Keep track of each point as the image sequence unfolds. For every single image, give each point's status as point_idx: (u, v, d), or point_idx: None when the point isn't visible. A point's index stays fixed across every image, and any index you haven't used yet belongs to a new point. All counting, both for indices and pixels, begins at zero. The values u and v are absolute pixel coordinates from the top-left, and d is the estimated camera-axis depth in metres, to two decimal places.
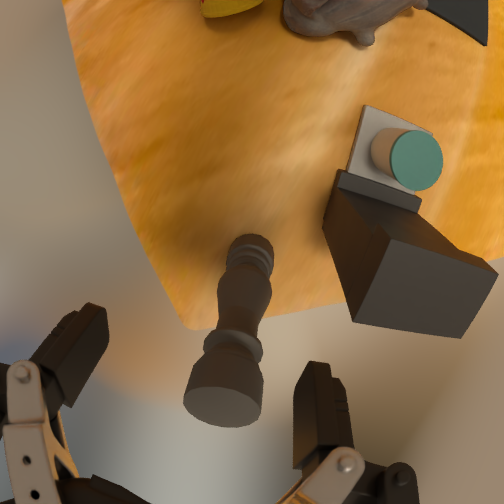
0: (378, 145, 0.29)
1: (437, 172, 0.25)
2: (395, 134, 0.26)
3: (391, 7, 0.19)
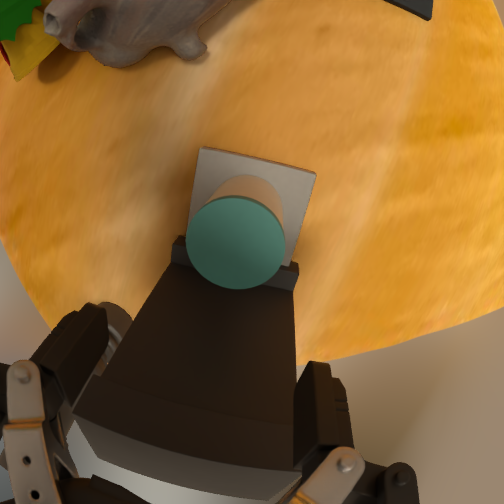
0: None
1: (275, 260, 0.19)
2: (208, 201, 0.20)
3: None
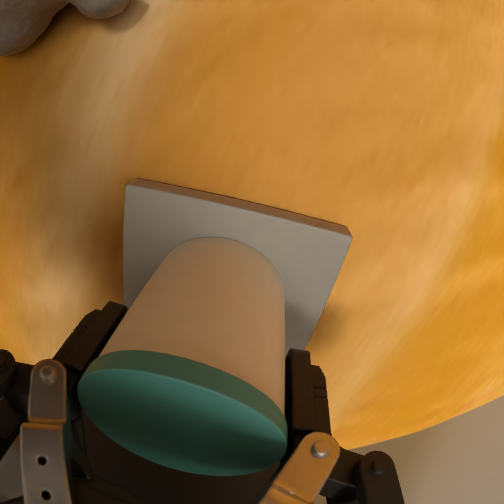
0: None
1: (263, 460, 0.07)
2: (118, 328, 0.08)
3: None
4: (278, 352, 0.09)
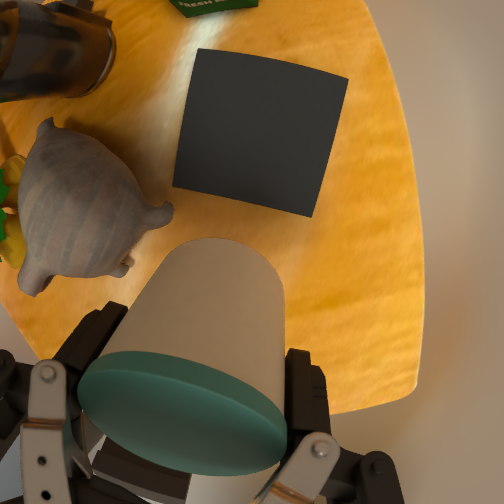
0: None
1: (263, 461, 0.07)
2: (118, 329, 0.08)
3: (100, 268, 0.25)
4: (278, 353, 0.09)
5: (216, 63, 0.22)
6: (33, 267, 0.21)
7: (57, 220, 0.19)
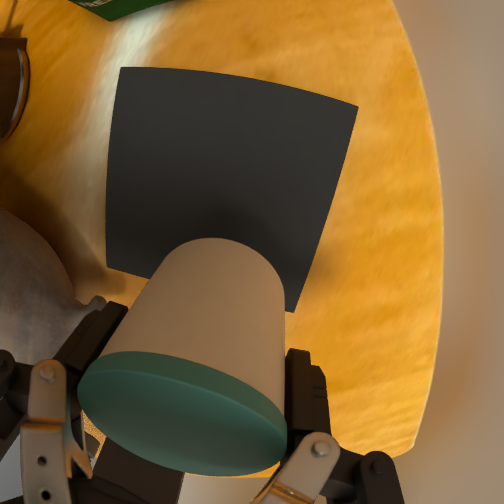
0: None
1: (263, 461, 0.07)
2: (118, 329, 0.08)
3: None
4: (278, 353, 0.09)
5: (145, 89, 0.14)
6: None
7: None
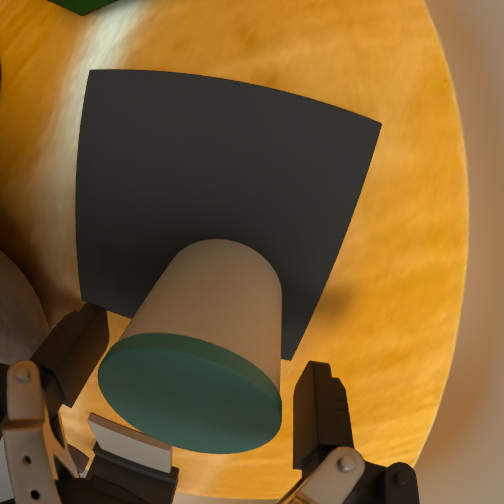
0: None
1: (260, 436, 0.09)
2: (136, 317, 0.09)
3: None
4: (275, 340, 0.10)
5: (116, 97, 0.11)
6: None
7: None
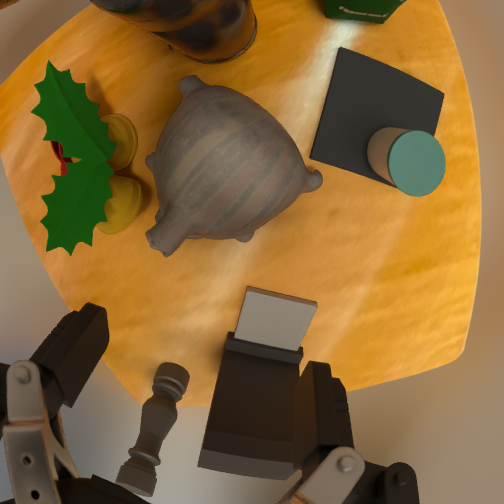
0: (375, 146, 0.27)
1: (439, 176, 0.23)
2: (394, 134, 0.24)
3: (253, 226, 0.28)
4: None
5: (355, 63, 0.26)
6: (183, 220, 0.24)
7: (241, 169, 0.22)
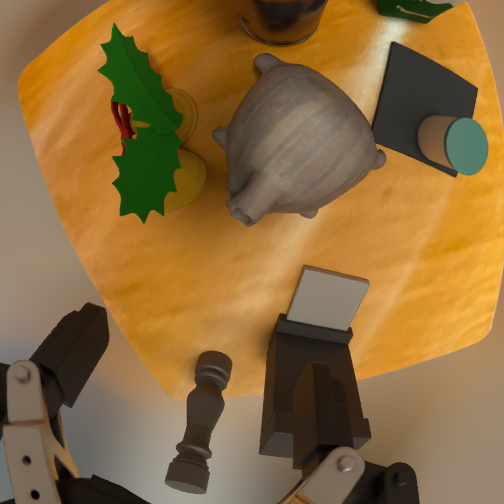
0: (427, 131, 0.27)
1: (483, 159, 0.23)
2: (446, 120, 0.24)
3: (330, 198, 0.28)
4: None
5: (406, 56, 0.25)
6: (273, 188, 0.25)
7: (333, 139, 0.22)
